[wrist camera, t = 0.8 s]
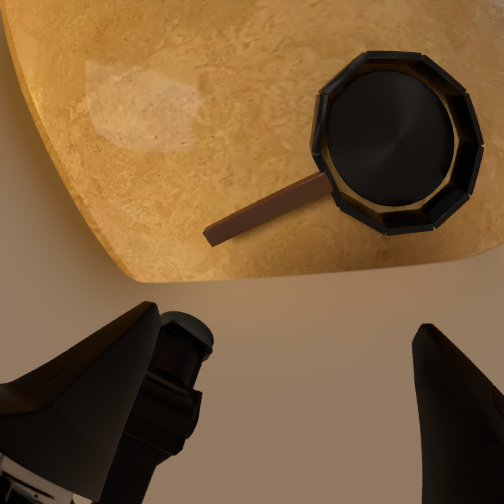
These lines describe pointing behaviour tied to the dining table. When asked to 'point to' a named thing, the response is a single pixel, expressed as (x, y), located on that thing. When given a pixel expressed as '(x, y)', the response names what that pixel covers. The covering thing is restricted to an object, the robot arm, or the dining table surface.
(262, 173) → the dining table surface
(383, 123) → the frying pan
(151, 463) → the robot arm
